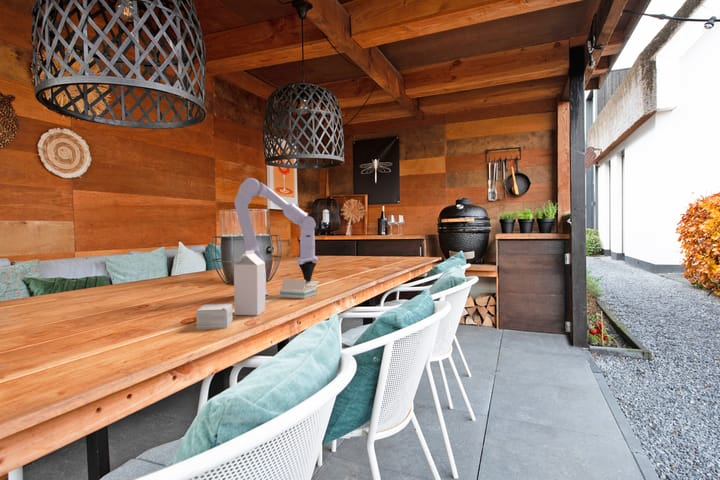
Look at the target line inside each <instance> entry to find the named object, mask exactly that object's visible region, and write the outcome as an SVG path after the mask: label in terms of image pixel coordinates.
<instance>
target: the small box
mask: <svg viewBox="0 0 720 480" xmlns="http://www.w3.org/2000/svg"><path fill="white" fill-rule="evenodd" d="M195 312H196V313H195V314H196V329H197V330H208V329H210V330H211V329H214V330H215V329H228V327H229V326H230V325H231V324H232V322H233V303H216V304H213V303H211V304H203V305H202V306H200V307H199V308H198V309H196V311H195Z"/></svg>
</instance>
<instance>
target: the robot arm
mask: <svg viewBox="0 0 720 480" xmlns="http://www.w3.org/2000/svg"><path fill="white" fill-rule="evenodd" d="M256 196H258V197H261V198H266V199H268V200H269V201H270V202H272V203H273V204H274V205H275V206H277V207H278V208H280V209H282V212H283V215H284V216H285V217H287V218H288V219H289V220H290V221H291V222H293V223H294V224H295V225H298V226H299V228H300V236H299V240H300V241H299V244H300V246H299V247H300V248H299V252H300V254H299V258H297V259H296V265H298V267H299V268H300V270H301V272H302V276H303V280H306V281H312V277H313V272H314V269H315V268H316V266H317V262H318V261H319V260H318V259H319V257H318V256H316V241H315V240H316V236H315V228H316V226H317V223H316V221H315V219H314V218H313V217H312V216H309V213H308V212H305V211H304V210H303V209H301V208H300V207H299V204H298V203H292V202H291V203H288V202H287V201H286V200H285V199H283V198H282V197H281V196H279V195H278V193H276V192H275V191H273V189H271V188H270V187H268V186H267V185H266V184H264V183H262V182H259V180H258V179H256V178H254V177H248V178H246V179H245V180H243V182H242V183H241V184H240V185H239V188H238V191H237V194H236V197H235V200H234V206H235V207H234V208H235V211H236V214H237V218H238V222H239V226H240V230H241V234H242V237H243V241H244V245H245V249H246V251H250V250H254V253H255V254H256V255H257V256H258V257H259V258H260V259H261V260H262V261H264V262H265V263H266V261H265V258H264V255H262V254H261V252H260V249H259V245H258V242H257V241H258V240H257V237H256V233H255V232H256V231H255V229H254V226H253V221H252V217H251V215H250V211H249V210H250V209H249V204H250V203H251V201H252V199H254V198H255V197H256ZM265 296H270V294H269V293H268V292H267V270H266V269H265Z"/></svg>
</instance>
